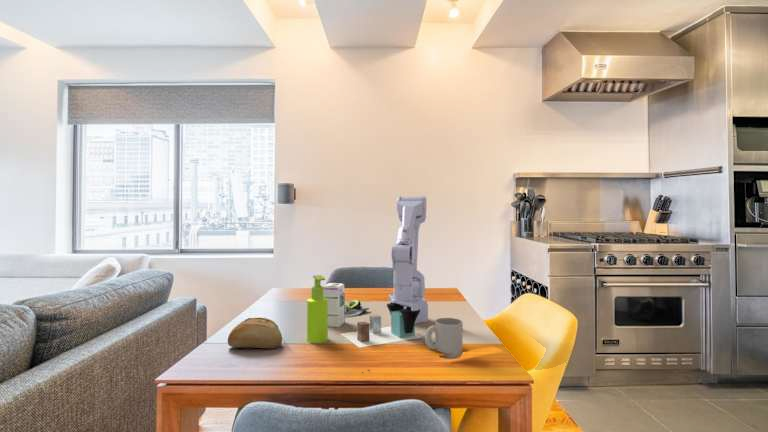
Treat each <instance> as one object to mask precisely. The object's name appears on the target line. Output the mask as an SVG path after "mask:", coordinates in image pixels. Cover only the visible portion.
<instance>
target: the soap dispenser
mask: <svg viewBox="0 0 768 432" xmlns="http://www.w3.org/2000/svg"><path fill="white" fill-rule="evenodd" d="M312 278H313V279H314V285H313V286H311V297H310V298H307V300H306V341H307V343H310V344H322V343H325V342H327V341H328V339H329V333H328V332H329V330H328V329H329V326H328V299H327V298H323V286H322V284H321V281H326V278H325V277H324V276H323V275H321V274H319V275H318V274H317V275H312Z"/></svg>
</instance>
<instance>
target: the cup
mask: <svg viewBox="0 0 768 432" xmlns="http://www.w3.org/2000/svg"><path fill="white" fill-rule="evenodd" d="M463 323H464V322H463V320H461V319H458V318H452V317H440V318H437V319H435V324H432V325H430V326H428V328H427V330H426V331H425V336H424V338H425V344H426V347H428V349H429V350H431V351H432V350H434V351H437V352H440V353H443V355H438V357H439V358H442V359H448V360H450V359H451V360H453V359H459V358H461V357H462V355H463V336H464V335H463V329H464V328H463ZM433 332H435V333H434V335H435V338H434V339H435V340H434V342H435V343H433V341H432V336H433V335H432V334H433Z"/></svg>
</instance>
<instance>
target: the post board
mask: <svg viewBox="0 0 768 432" xmlns="http://www.w3.org/2000/svg"><path fill="white" fill-rule="evenodd" d="M340 335H341V336H343V338H345V339H346V340H348V341H349V342H351V343H352V344H353V345H355V346H357V348H359V349H360V348H366V347H372V346H373V347H374V346H378V345H385V344H390V343H397V342H404V341H409V340H414V339H415V340H417V339H422V337H421V336H420V335H418V334H417V333H415V336H409V337H403V338H399V337H397V336H395V335H393V334H392V333H391V325H389V326H386V327H381V333H377V334H372V333H371V332H370V328H369V341H367V342H360V341H358V340H357V330H356V331H349V332H343V333H340Z"/></svg>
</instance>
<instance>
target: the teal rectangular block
mask: <svg viewBox="0 0 768 432" xmlns="http://www.w3.org/2000/svg"><path fill="white" fill-rule="evenodd" d="M390 316H391V317H390V326H391V333H392V334H393V335H395V336H397V337H399V338H403V337H409V336H415V334H416V329H415V328H416V324H414V328H413V332H412V333H405V329H404V320H403V316H402V313H401V311H400V310H399V311H391V314H390Z"/></svg>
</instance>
